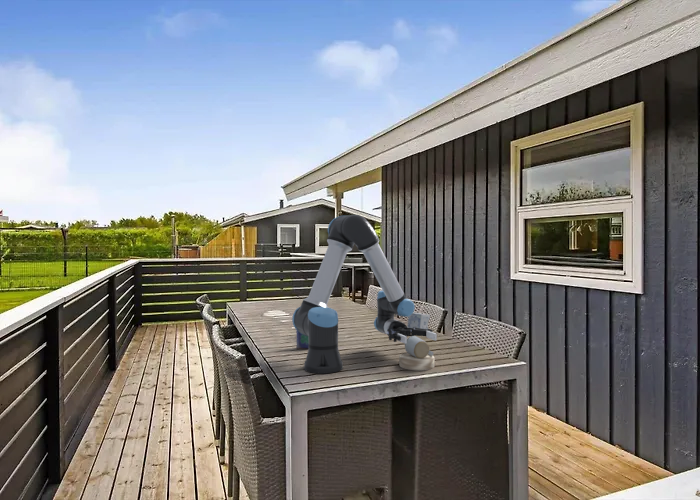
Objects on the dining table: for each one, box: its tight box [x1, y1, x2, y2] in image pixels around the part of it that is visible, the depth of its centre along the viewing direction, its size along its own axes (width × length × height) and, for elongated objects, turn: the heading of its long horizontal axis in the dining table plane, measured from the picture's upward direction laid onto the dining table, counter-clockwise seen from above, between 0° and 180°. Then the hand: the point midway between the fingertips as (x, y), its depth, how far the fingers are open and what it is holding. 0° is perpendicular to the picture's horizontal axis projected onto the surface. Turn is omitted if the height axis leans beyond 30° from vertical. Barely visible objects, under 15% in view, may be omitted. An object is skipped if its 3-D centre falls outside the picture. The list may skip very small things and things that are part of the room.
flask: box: [295, 329, 309, 350], centre depth 219 cm, size 9×3×11 cm, turn 80°
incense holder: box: [406, 311, 431, 329], centre depth 257 cm, size 10×8×10 cm
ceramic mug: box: [404, 335, 434, 358], centre depth 189 cm, size 11×8×8 cm
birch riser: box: [398, 352, 436, 371], centre depth 189 cm, size 14×14×4 cm
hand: (421, 338), depth 186 cm, fingers open, 13 cm apart
